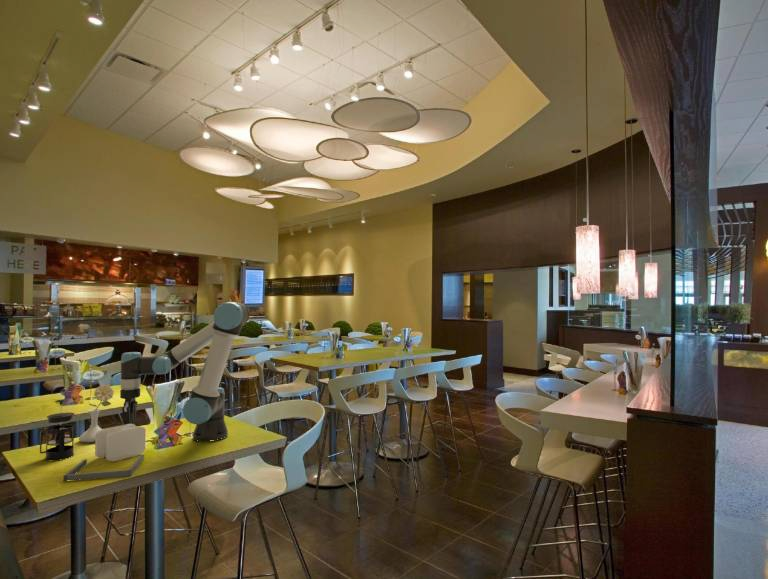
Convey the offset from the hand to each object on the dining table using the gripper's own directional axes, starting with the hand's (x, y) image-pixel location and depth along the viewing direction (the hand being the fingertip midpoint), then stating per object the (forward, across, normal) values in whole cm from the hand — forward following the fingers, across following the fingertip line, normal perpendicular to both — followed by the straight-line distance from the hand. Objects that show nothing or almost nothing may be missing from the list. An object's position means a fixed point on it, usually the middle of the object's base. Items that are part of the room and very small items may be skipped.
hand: (129, 443), depth 189 cm
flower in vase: (+2, -16, -18) cm, 24 cm away
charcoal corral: (+2, +26, 0) cm, 26 cm away
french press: (+2, +6, -24) cm, 25 cm away
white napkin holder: (+2, +11, 0) cm, 12 cm away
